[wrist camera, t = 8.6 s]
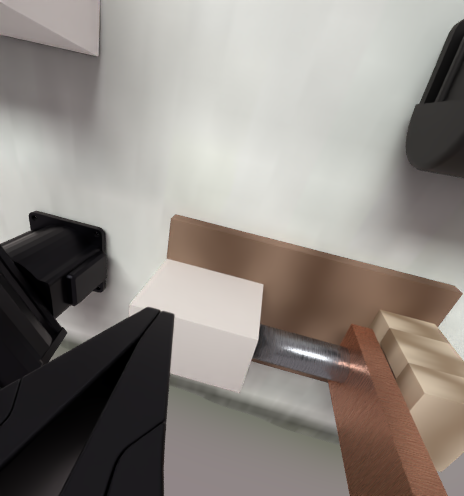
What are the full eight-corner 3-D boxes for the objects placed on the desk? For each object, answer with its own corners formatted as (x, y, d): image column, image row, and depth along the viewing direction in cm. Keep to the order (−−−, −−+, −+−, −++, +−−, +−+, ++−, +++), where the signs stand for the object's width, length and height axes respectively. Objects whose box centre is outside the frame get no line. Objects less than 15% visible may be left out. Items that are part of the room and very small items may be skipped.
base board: (162, 327, 26) (158, 334, 25) (175, 214, 21) (170, 218, 20) (380, 388, 25) (384, 398, 24) (454, 285, 20) (462, 293, 19)
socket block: (348, 362, 23) (374, 452, 17) (379, 309, 20) (424, 393, 14) (396, 375, 23) (441, 472, 17) (435, 324, 20) (505, 415, 14)
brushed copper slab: (234, 344, 21) (203, 503, 13) (249, 295, 19) (223, 447, 10) (400, 390, 21) (490, 592, 12) (435, 345, 19) (579, 554, 10)
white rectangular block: (161, 306, 24) (127, 360, 18) (166, 258, 21) (129, 304, 16) (248, 330, 23) (239, 393, 18) (263, 284, 21) (258, 340, 16)
